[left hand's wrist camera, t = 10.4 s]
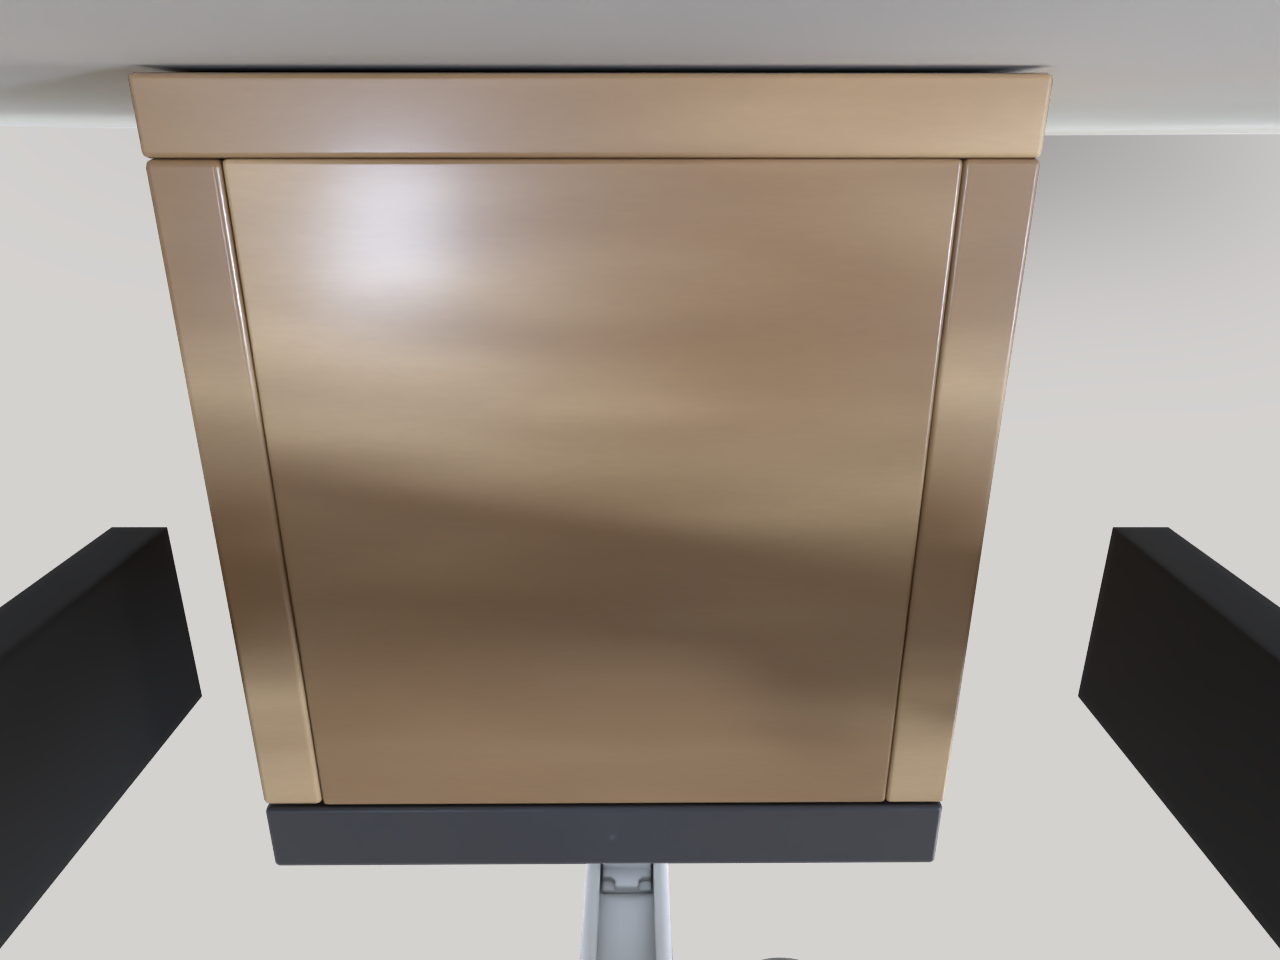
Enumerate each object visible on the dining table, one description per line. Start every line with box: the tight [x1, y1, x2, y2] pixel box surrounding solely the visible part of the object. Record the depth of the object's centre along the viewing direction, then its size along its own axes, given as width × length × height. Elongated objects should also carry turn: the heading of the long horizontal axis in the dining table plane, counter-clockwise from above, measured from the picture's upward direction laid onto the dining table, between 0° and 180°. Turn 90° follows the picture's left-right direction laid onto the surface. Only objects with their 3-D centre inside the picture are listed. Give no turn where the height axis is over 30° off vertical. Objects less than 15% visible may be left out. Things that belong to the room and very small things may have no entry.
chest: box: [128, 72, 1052, 804], centre depth 18 cm, size 16×9×9 cm, turn 0°
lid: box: [266, 798, 942, 865], centre depth 22 cm, size 17×9×9 cm, turn 0°
